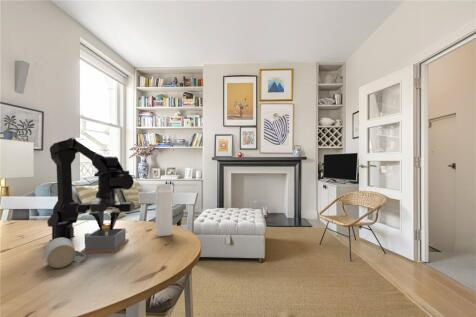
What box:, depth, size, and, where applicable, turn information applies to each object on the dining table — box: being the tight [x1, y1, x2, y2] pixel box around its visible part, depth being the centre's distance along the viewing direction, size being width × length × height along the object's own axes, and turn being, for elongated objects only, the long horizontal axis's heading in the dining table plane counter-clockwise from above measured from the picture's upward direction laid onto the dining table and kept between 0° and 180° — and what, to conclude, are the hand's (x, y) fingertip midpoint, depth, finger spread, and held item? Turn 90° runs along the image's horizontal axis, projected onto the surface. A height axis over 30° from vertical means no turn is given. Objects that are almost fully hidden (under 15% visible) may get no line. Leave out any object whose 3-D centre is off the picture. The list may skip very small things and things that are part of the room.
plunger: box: [102, 222, 110, 236], centre depth 92 cm, size 8×8×7 cm
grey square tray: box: [80, 227, 130, 254], centre depth 92 cm, size 14×12×6 cm
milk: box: [155, 183, 173, 238], centre depth 109 cm, size 6×6×22 cm
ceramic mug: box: [43, 237, 87, 269], centre depth 77 cm, size 11×8×8 cm
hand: (106, 230), depth 92 cm, fingers closed on plunger, 3 cm apart
